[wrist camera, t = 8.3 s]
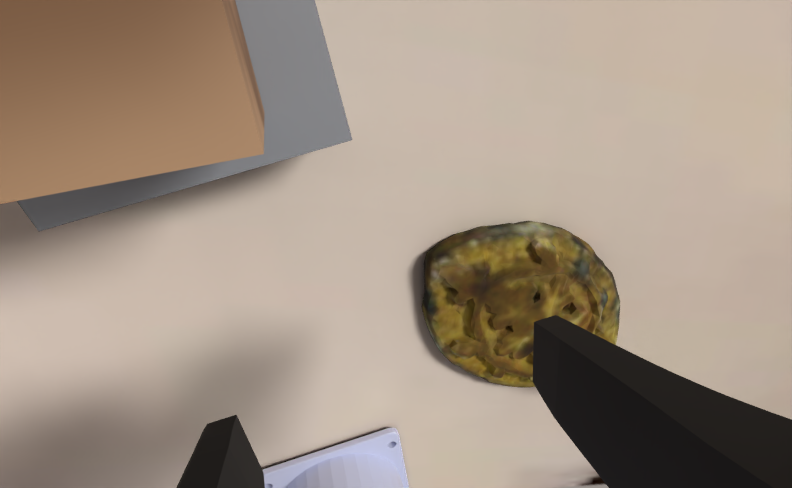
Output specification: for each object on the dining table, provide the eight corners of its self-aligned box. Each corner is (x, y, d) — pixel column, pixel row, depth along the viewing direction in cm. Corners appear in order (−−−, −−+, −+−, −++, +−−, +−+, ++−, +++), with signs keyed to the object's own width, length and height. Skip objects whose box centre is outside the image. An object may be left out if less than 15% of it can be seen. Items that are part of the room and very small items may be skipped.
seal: (365, 315, 22) (549, 386, 29) (380, 387, 18) (590, 451, 25) (476, 168, 19) (655, 286, 25) (524, 217, 15) (721, 342, 21)
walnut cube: (264, 112, 12) (263, 153, 7) (66, 146, 11) (-68, 217, 6) (204, -117, 9) (151, -254, 5) (-54, -99, 8) (-390, -246, 4)
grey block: (333, 117, 16) (352, 139, 13) (91, 186, 15) (38, 231, 12) (243, -202, 12) (233, -299, 8) (-113, -143, 11) (-295, -227, 7)
